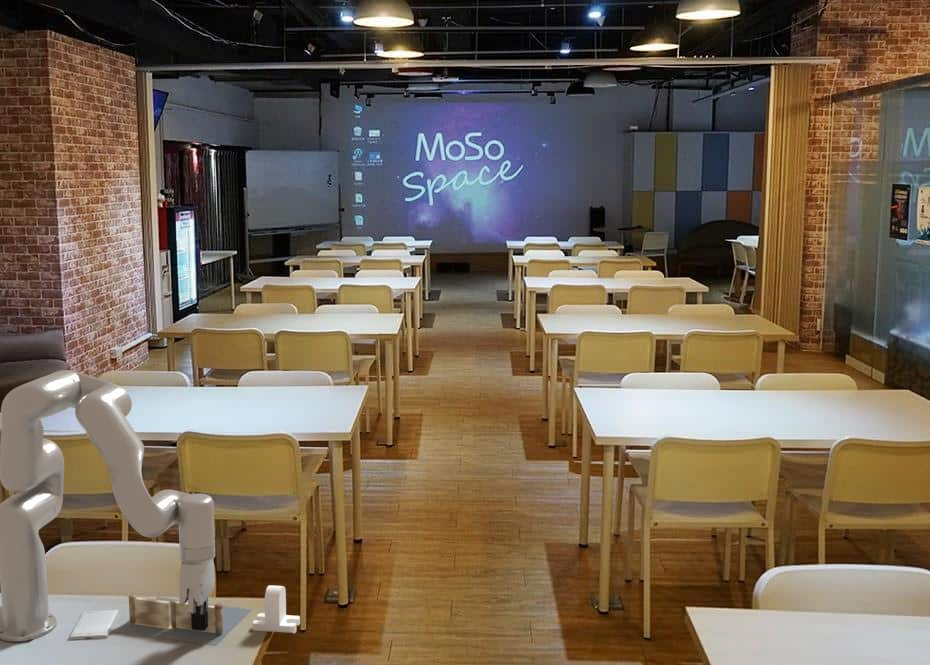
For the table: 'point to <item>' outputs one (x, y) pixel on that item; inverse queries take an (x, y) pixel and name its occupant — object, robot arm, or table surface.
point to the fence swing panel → (183, 618)
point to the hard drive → (94, 624)
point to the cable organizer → (276, 613)
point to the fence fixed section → (149, 611)
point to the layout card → (229, 622)
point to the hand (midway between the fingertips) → (199, 628)
